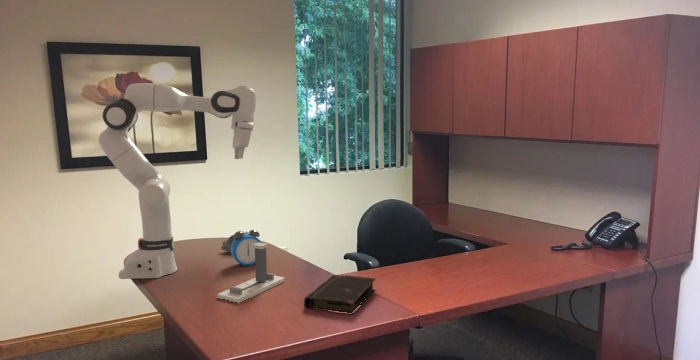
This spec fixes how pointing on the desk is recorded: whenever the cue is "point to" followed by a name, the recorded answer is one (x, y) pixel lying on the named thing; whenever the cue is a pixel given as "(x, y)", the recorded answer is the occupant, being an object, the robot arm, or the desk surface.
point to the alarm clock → (244, 247)
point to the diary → (341, 293)
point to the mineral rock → (228, 244)
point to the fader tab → (260, 261)
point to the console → (250, 288)
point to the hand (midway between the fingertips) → (238, 158)
